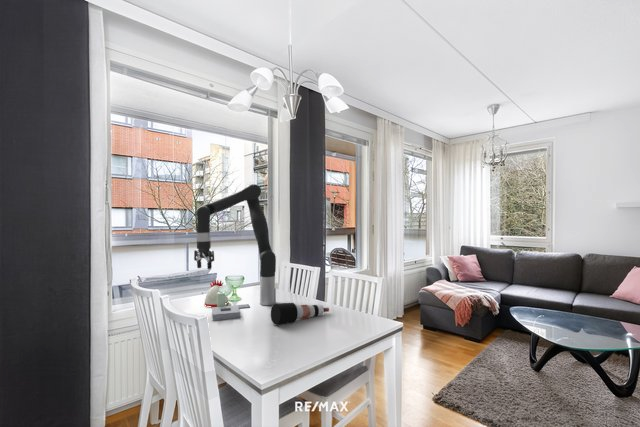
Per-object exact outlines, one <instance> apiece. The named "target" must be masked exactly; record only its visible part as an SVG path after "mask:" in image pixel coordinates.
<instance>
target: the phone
mask: <svg viewBox="0 0 640 427" xmlns="http://www.w3.org/2000/svg"><path fill="white" fill-rule="evenodd" d="M237 305H238V308H239V310H241V309H242V310H243V309H250V308H251V306H250V304H249V303H248V304H247V303H246V304H237Z"/></svg>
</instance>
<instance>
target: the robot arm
mask: <svg viewBox="0 0 640 427" xmlns="http://www.w3.org/2000/svg"><path fill="white" fill-rule="evenodd" d="M261 194H262V189H261V187H260V186H259V185H258V184H255V183H254V184H253V183H251V184H248V185H247V186H245V188H243V189H242V190H240V191H237V192H235V193H233V194H230V195H226V196H224V197H221V198H218V199H216V200H213V201H212V202H209V203H206V204H203V205H201V206H199V207H197V208H196V211H195V213H196V215H197V216H196V217H197V220H196V221H197V223H196V249H194V251H193V252H194V255H193V260H194V261H196V267H197V269H201V268H202V259H204V260H205V261H206V263H207V264H206V265H207V270H210V269H212V263H213V262H215V251H214V250H210V249H211V246H212V243H211V242H212V241H211V238H212V237H211V226H210V225H211V224H210V220H211V215H213V214H216V213H217V214H218V213H219V212H222V211H224V210H227V209H229V208H232V207H234V206H235V205H238V204H240V203H242V202H247V207H248V210H249V216H250V221H251V226H252V229H253V230H252V231H253V234H254V237H255V240H256V243H257V247H258V254H259V255H258V256H259V260H260V272H259V304H260V305H261V306H273V304H277V303H276V302H277V296H276V294H277V290H276V270H277V269H276V268H277V258H276V257H277V256H276V254H275V252H273V249H272V247H271V244H270V236H269V235H270V234H269V232H270V231H269V226H268V222H267V218H266V216H265V213H264V211H263V209H262V207H261V204H260V196H261Z"/></svg>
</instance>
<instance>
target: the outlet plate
mask: <svg viewBox="0 0 640 427" xmlns="http://www.w3.org/2000/svg"><path fill="white" fill-rule="evenodd" d="M238 305H239V304H236V305H235V304H233V305H225V306H222V307H211V316H212V317H211V318H212V321H219V320H222V321H223V320H230V319H238V318H241V309H239V308H238Z"/></svg>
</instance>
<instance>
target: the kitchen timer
mask: <svg viewBox="0 0 640 427" xmlns="http://www.w3.org/2000/svg"><path fill="white" fill-rule="evenodd" d="M223 284H224V282H222V279H220V281H219V279H217V280H216V279H215V280H214V281H212V283H210V284H209V285H210V289H208V291H207V292H206V295H205V298H204V306H205V305H206V306H211V307H210V308H212V307H217V292H220V291H219V288H218V287H219V286H222V287H223ZM227 302H228V303H229V298H228V296H227V297H226V296H225V303H227ZM206 306H205V307H206Z"/></svg>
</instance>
